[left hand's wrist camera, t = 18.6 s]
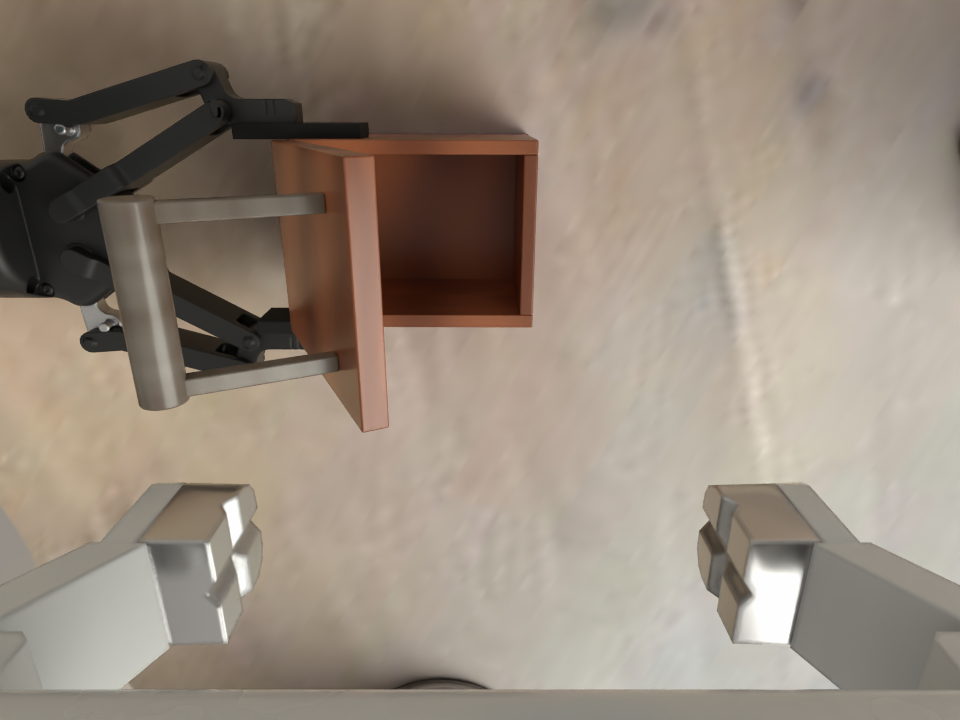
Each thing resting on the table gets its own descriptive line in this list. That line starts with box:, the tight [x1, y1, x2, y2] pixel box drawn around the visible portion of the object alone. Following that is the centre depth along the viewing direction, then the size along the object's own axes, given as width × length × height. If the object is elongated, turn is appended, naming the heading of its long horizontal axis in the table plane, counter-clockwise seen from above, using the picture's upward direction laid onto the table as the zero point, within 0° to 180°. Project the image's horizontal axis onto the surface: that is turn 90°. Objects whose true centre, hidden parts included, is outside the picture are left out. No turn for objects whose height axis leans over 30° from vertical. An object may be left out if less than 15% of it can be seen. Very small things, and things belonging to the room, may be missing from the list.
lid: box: [97, 140, 389, 432], centre depth 26 cm, size 13×10×8 cm
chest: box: [287, 133, 538, 327], centre depth 38 cm, size 13×10×9 cm
